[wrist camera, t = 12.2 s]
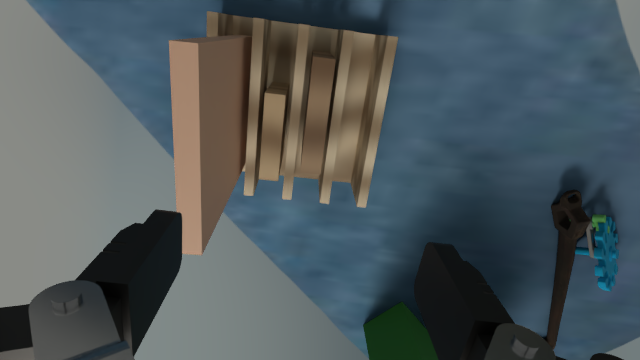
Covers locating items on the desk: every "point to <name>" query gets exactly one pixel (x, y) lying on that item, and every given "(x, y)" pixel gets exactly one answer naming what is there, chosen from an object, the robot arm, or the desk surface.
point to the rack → (294, 68)
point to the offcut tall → (317, 111)
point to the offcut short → (273, 130)
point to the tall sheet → (208, 128)
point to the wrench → (565, 253)
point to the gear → (602, 249)
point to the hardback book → (398, 336)
